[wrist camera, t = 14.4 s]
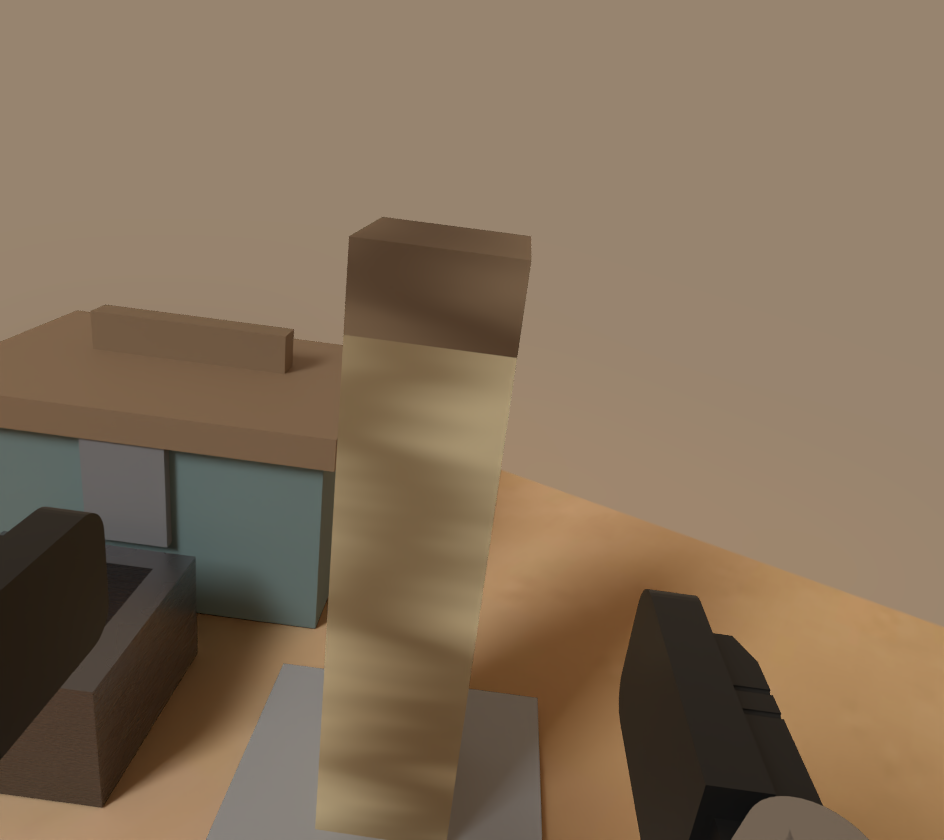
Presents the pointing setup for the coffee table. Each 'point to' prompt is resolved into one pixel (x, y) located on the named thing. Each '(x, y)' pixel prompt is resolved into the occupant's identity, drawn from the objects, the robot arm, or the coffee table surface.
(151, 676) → the gray open box
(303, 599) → the toolbox
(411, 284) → the mottled beige block
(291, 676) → the rubber mat
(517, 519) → the coffee table surface
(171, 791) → the coffee table surface
